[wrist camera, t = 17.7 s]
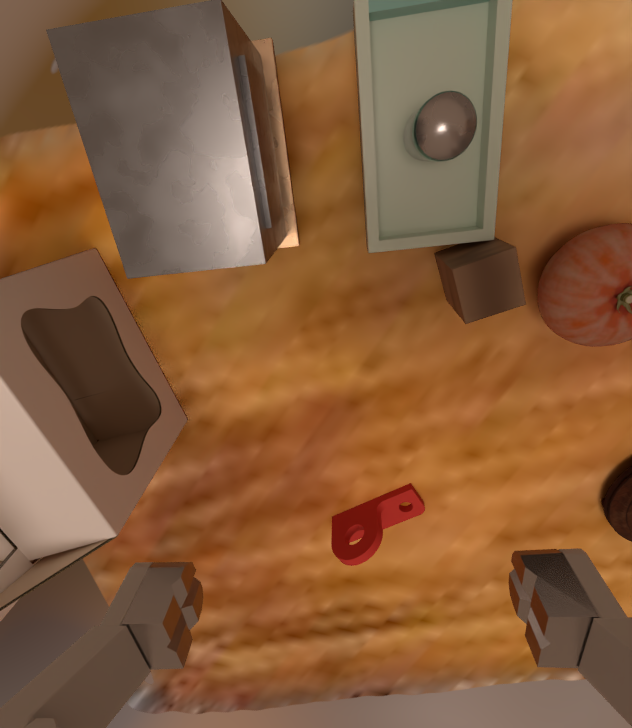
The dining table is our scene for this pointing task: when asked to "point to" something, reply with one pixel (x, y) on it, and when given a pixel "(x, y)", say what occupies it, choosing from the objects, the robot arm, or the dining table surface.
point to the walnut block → (481, 278)
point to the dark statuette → (620, 504)
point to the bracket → (372, 523)
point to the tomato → (590, 287)
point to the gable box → (72, 419)
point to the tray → (407, 94)
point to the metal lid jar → (441, 127)
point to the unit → (182, 137)
